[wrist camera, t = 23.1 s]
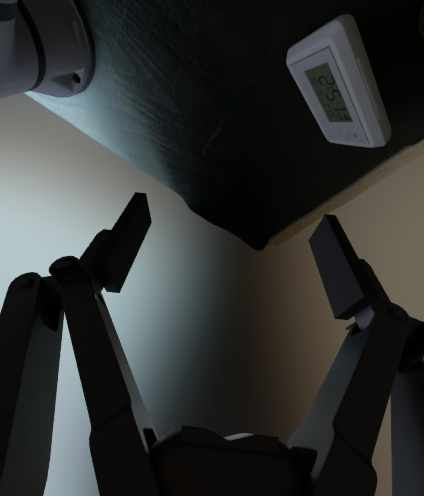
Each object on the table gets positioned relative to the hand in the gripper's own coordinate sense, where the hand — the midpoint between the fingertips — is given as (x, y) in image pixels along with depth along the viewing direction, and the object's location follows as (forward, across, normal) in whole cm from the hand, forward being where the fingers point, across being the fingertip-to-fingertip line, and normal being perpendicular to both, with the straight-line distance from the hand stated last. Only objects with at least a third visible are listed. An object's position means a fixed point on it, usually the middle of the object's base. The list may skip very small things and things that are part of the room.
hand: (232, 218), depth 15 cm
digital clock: (+28, +13, +5) cm, 32 cm away
